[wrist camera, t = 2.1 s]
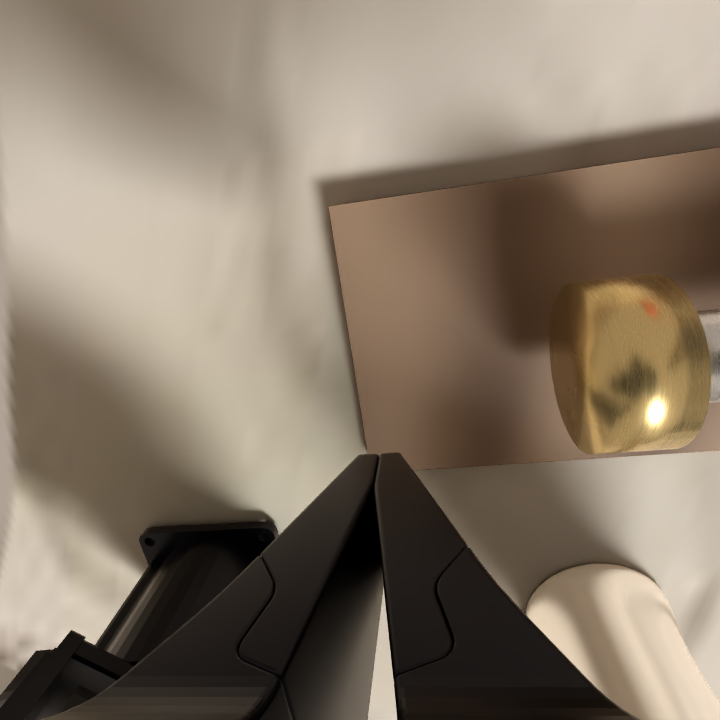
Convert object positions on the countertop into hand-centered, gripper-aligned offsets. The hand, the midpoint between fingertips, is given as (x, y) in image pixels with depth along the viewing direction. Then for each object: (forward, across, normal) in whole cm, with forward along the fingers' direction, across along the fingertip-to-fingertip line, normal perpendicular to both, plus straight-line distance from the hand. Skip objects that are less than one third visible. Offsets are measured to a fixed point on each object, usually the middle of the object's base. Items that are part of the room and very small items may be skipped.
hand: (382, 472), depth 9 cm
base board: (+8, -10, 0) cm, 13 cm away
